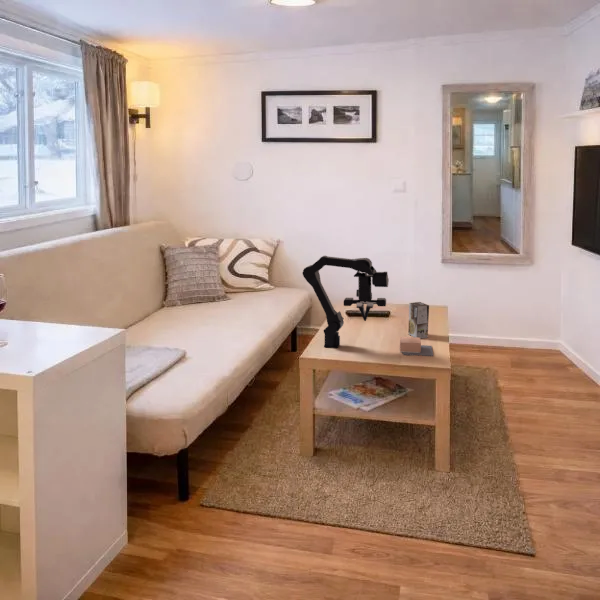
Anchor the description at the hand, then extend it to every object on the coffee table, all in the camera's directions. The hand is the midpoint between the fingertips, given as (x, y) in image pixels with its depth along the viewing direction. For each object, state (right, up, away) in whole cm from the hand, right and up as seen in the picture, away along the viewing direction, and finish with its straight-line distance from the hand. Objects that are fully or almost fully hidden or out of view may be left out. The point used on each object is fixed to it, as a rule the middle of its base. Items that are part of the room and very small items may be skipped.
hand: (365, 320), depth 293 cm
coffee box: (+28, -9, +24) cm, 38 cm away
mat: (+24, -13, -1) cm, 27 cm away
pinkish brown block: (+16, -10, 0) cm, 19 cm away
